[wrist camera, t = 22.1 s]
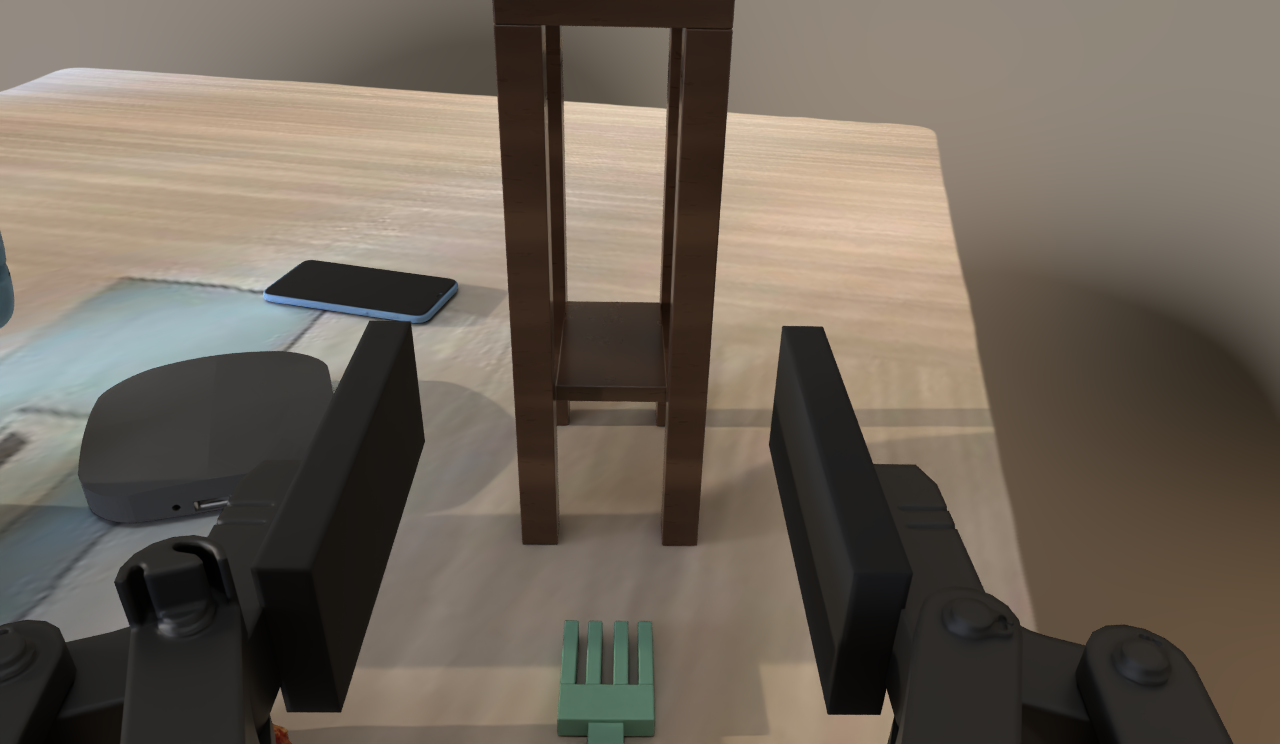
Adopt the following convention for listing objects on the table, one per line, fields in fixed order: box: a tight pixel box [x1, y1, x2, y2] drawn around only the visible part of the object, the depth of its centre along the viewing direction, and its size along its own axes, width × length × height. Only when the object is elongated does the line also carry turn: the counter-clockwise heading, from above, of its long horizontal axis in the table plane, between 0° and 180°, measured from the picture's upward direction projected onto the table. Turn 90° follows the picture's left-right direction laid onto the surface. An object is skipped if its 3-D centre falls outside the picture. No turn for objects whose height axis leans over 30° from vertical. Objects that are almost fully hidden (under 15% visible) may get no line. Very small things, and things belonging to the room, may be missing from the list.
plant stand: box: [492, 0, 735, 545], centre depth 53 cm, size 14×10×30 cm
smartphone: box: [263, 260, 458, 323], centre depth 80 cm, size 7×1×15 cm
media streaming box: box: [78, 351, 333, 523], centre depth 61 cm, size 15×15×3 cm
